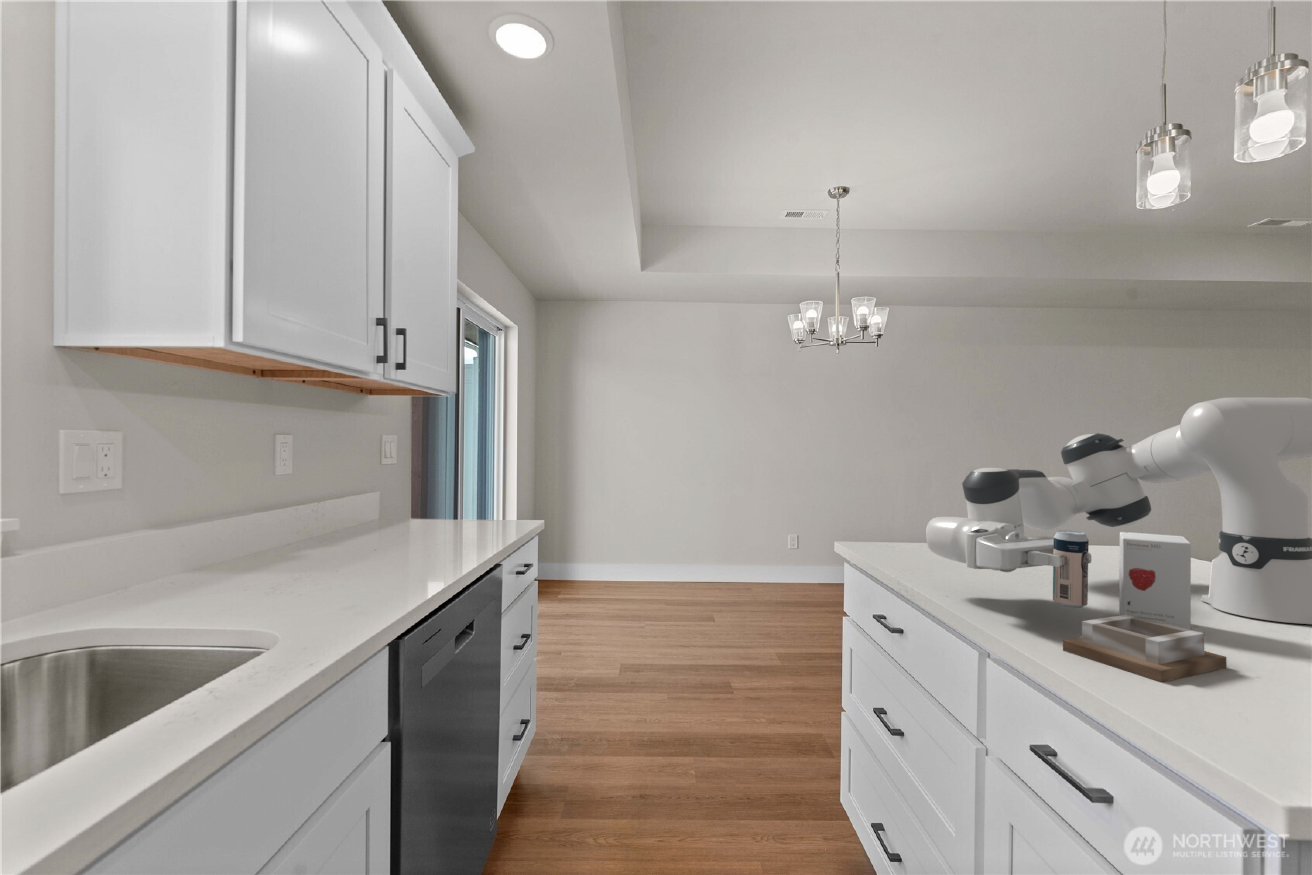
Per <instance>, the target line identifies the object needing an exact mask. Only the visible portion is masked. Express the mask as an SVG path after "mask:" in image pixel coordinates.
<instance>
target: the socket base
mask: <svg viewBox="0 0 1312 875" xmlns="http://www.w3.org/2000/svg"><path fill="white" fill-rule="evenodd" d="M1081 633H1082V634H1081V636H1079V637H1073V638H1066V639H1062V651H1064V652H1067V653H1069V654H1073V655H1077V656H1078V657H1079V656H1080V657H1083V658H1085V659H1089V660H1092V661H1095V662H1098V663H1101V664H1104V665H1107V666H1110V667H1113V668H1116V669H1118V670H1123V671H1126V672H1128V673H1131V672H1132V674H1135V675H1138V676H1141V677H1144V678H1147V679H1150V680H1153V681H1156V682H1159V683H1164V682H1168V681H1173V680H1178V679H1181V678H1182V679H1183V678H1186V677H1190V676H1191V677H1192V676H1195V675H1196V676H1197V675H1201V674H1205V673H1209V672H1214V671H1218V670H1222V669H1227V666H1228V665H1227V656H1225V655H1220V654H1217V653H1213V652H1210V651H1207V650H1205V633H1204V632H1201V631H1195V630H1193V629H1191V630H1188V629H1184V628H1180V627H1176V626H1172V625H1168V624H1164V623H1160V622H1156V621H1152V620H1147V619H1143V618H1139V617H1135V616H1131V615H1127V614H1126V615H1120V614H1119V615H1114V616H1109V617H1101V618H1096V619H1089V620H1088V619H1087V620H1083V621H1081Z"/></svg>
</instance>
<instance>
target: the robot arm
mask: <svg viewBox="0 0 1312 875" xmlns="http://www.w3.org/2000/svg"><path fill="white" fill-rule="evenodd" d="M1123 442H1124V439H1123V438H1120V439H1118V438H1115V437H1114V436H1111V435H1108V434H1104V433H1088V434H1083V435H1082V434H1081V435H1079V436H1077V437H1074V438H1073V439H1071V440H1070V441H1069V442H1068V443H1067V444H1065V446H1063V448H1062V449H1061V451H1060V454H1061V458H1062V461H1063V464H1064V465H1066V467H1067V470H1068V472H1069V475H1070V477H1071V478H1069V477H1065V476H1050V477H1048V476H1046V475H1045V473H1044V472H1043V471H1040V470H1037V469H1017V468H1016V469H1013V468H1012V469H1006V468H1002V467H981V468H977V469H975V470H971V471H970V472H969V473H968V474H967V476H966V477H965V478H964V480H963V481H962V483H961V485H962V490H963V495H964V499H965V502H966V503H965V504H966V511H967V517H961V516H937V517H933V518H931V519H930V520H929V522H927V525H926V529H925V541H926V545H927V548H928V549H929V550H930V552H932V554H935V555H937V556H939V557H942V558H944V559H947V560H950V561H954V562H958V563H962V564H965V565H966V567H967V568H969V569H973V570H992V571H995V572H996V571H998V572H1003V573H1012V572H1014V571H1015V570H1017V569H1025V568H1034V567H1041V566H1043V567H1044V566H1049V567H1053V566H1055V567H1061V566H1065V565H1066V562H1065V561H1066V557H1065V556H1064V555H1058V554H1053V548H1054V536H1032V537H1031V536H1030V537H1027V536H1026V535H1025V526H1026V527H1028V528H1030V529H1032V530H1036V531H1041V532H1043V531H1044V532H1045V531H1052V530H1057V529H1060V528H1061V527H1063V526H1065V525H1067V524H1068V523H1070V522H1071V521H1072V520H1074V518H1076V517H1077V516H1078V515H1080V514H1083V513H1085V514H1087V515H1088V516H1086V519H1087V521H1095V522H1096V523H1098V524H1100V525H1101V526H1106V527H1111V528H1117V527H1121V528H1122V527H1130V526H1133V525H1135V524H1138V523H1139V522H1141V521H1142V520H1144V519H1145V518H1146V517H1147V516H1149V515H1150V514H1151V511H1152V505H1151V502H1150V499H1149V497H1148V495H1146V494H1145V492H1144V490H1143V487H1142V486H1141V483H1140V481H1143V482H1145V483H1151V484H1159V483H1175V482H1180V481H1184V480H1185V481H1186V480H1189V479H1194V478H1197V477H1201V476H1206V475H1210V474H1213V475H1214V478H1215V479H1216V483H1217V485H1218V489H1219V492H1220V493H1219V494H1220V502H1221V503H1220V504H1221V523H1222V528H1221V529H1222V530H1221V531H1219V536H1218V549H1219V551H1221V552H1220V554H1219V555H1218V556H1216V557H1215V558H1214V559H1212V560H1211V567H1210V574H1209V575H1210V576H1209V585H1208V586H1209V587H1208V594H1202V595H1201V601H1202V602H1205V603H1207V604H1209V605H1210V606H1211V607H1212V608H1214V609H1216V610H1218V611H1222V612H1225V613H1228V614H1233V615H1237V616H1242V617H1246V618H1252V619H1257V620H1258V619H1259V620H1265V621H1272V622H1279V623H1289V624H1301V625H1303V624H1305V625H1312V537H1309V499H1308V494H1307V493H1306V491H1305V490H1304V489H1303V488H1301V487H1300V486H1299V485H1298V484H1296V483H1294V482H1291V481H1290V480H1289V479H1288V478H1287V477H1286V476H1285V475H1284V474H1283V472H1282V470H1281V468H1280V465H1279V463H1282V462H1287V461H1294V460H1298V459H1304V458H1305V459H1306V458H1311V457H1312V398H1309V397H1299V396H1298V397H1296V396H1295V397H1288V396H1287V397H1263V396H1262V397H1259V396H1258V397H1255V396H1254V397H1251V396H1250V397H1248V396H1247V397H1246V396H1245V397H1241V396H1240V397H1237V396H1236V397H1234V396H1233V397H1221V398H1215V399H1211V400H1210V399H1209V400H1205V401H1202V402H1201V401H1200V402H1197V403H1195V404H1192V405H1191V406H1190V407H1189V408H1188V409H1187V410H1186V411H1185V412H1184V414H1183V416H1182V418H1181V421H1180V424H1177V425H1174V426H1171V427H1168V428H1167V429H1164V430H1161V431H1159V432H1156V433H1154V434H1152V435H1149V436H1148V437H1145V438H1144V439H1143V440H1140V441H1139V442H1136V443H1134V444H1131V445H1129V446H1124V445H1122V444H1121V443H1123ZM1139 480H1140V481H1139ZM1091 563H1092V554H1091V553H1090V552H1088V564H1091Z"/></svg>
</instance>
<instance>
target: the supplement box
mask: <svg viewBox="0 0 1312 875" xmlns="http://www.w3.org/2000/svg"><path fill="white" fill-rule="evenodd" d="M1191 546H1192V545H1191V542H1190V541H1189V540H1187V539H1186V537H1185V536H1183V535H1182V536H1181V535H1171V534H1157V533H1144V532H1143V533H1142V532H1141V533H1140V532H1129V531H1120V532H1119V561H1118V562H1119V563H1118V564H1119V566H1118V567H1119V571H1118V572H1119V577H1118V578H1119V580H1118V581H1119V584H1118V585H1119V588H1118V589H1119V591H1118V592H1119V596H1118V598H1119V601H1118V602H1119V607H1118V608H1119V616H1120V615H1126V614H1127V615H1131V616H1135V617H1139V618H1143V619H1147V620H1152V621H1156V622H1160V623H1164V624H1168V625H1172V626H1176V627H1180V628H1184V629H1188V630H1192V628H1191V624H1192V620H1191V619H1192V618H1191V617H1192V616H1191V614H1192V613H1191V610H1192V609H1191V608H1192V607H1191V606H1192V605H1191V604H1192V602H1191V599H1192V597H1191V596H1192V595H1191V591H1192V590H1191V588H1192V587H1191V586H1192V585H1191V582H1192V581H1191V577H1192V574H1191V573H1192V572H1191V571H1192V570H1191V568H1192V566H1191V564H1192V560H1191V557H1192V555H1191V554H1192V552H1191Z"/></svg>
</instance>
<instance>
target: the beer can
mask: <svg viewBox="0 0 1312 875" xmlns="http://www.w3.org/2000/svg"><path fill="white" fill-rule="evenodd" d="M1053 537H1054V548H1053V554H1058V555H1064V556H1065V557H1066V561H1065V562H1066V565H1065V566H1061V567H1055V566H1052V601H1053V602H1055V603H1056V604H1057V605H1058V606H1062V607H1066V608H1073V609H1081V608H1083V607H1087V605H1088V604H1089V603H1088V602H1089V601H1088V600H1089V598H1088V597H1089V589H1088V588H1089V563H1088V553H1089V546H1090V545H1089V538H1088V535H1087V533H1085V532H1082V531H1077V530H1064V529H1063V530H1057V531H1056V533H1055V535H1054V536H1053Z"/></svg>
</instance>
